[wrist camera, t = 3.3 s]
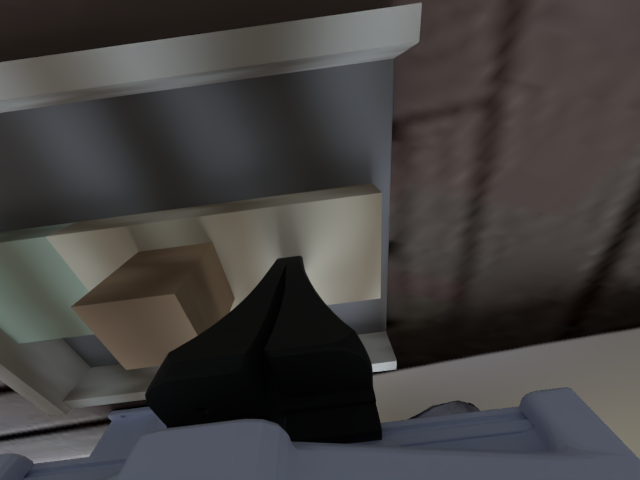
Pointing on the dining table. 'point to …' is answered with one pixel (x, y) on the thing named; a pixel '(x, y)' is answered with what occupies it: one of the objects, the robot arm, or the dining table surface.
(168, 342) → the walnut cube
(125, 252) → the box
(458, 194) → the dining table surface
